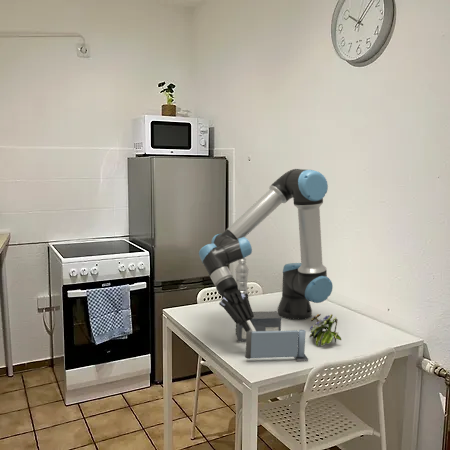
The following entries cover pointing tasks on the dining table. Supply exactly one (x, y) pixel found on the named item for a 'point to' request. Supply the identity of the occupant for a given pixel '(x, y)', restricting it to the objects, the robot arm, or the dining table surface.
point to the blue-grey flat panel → (275, 344)
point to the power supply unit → (261, 324)
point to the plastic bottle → (242, 275)
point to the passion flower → (328, 334)
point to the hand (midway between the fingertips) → (255, 338)
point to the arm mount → (301, 358)
